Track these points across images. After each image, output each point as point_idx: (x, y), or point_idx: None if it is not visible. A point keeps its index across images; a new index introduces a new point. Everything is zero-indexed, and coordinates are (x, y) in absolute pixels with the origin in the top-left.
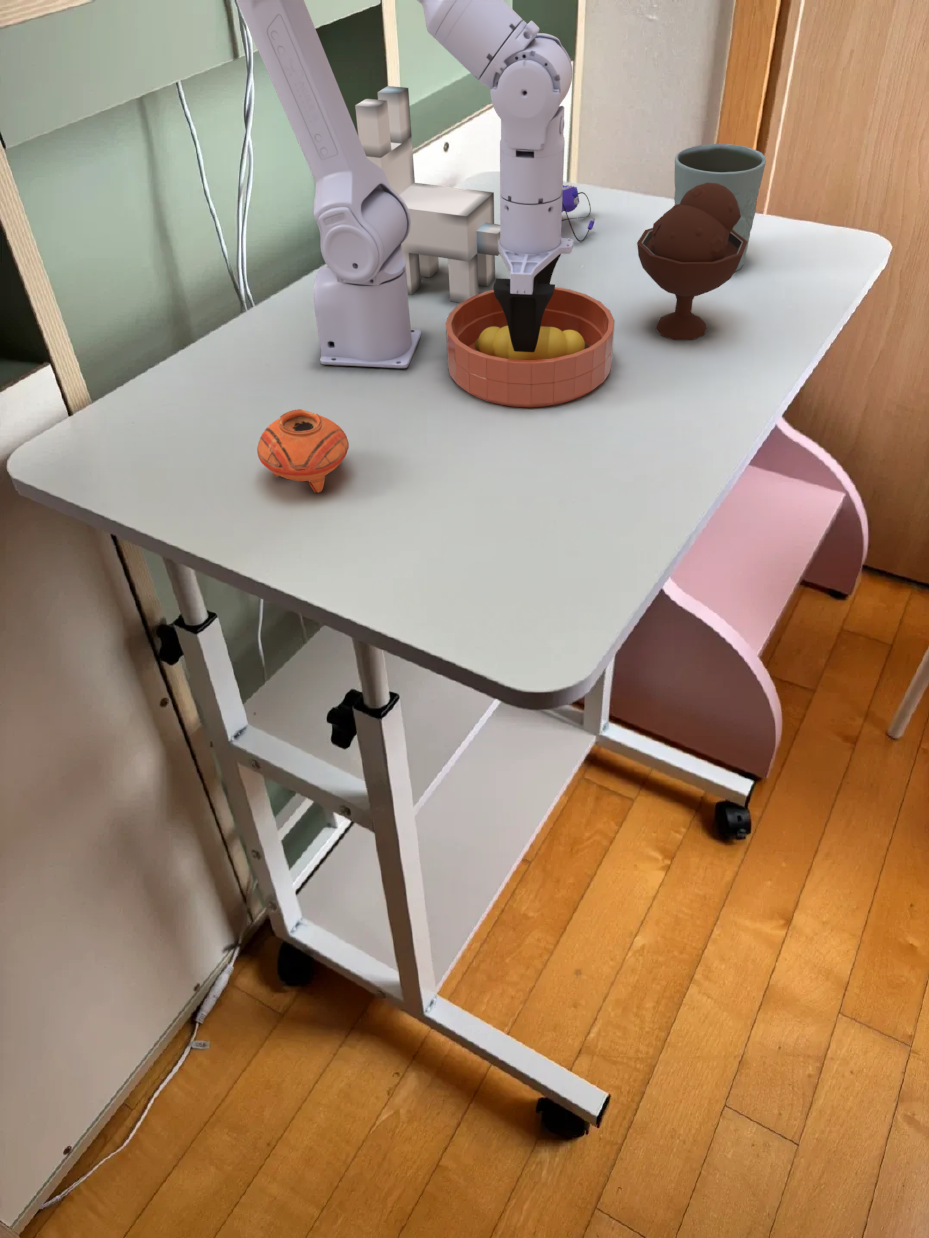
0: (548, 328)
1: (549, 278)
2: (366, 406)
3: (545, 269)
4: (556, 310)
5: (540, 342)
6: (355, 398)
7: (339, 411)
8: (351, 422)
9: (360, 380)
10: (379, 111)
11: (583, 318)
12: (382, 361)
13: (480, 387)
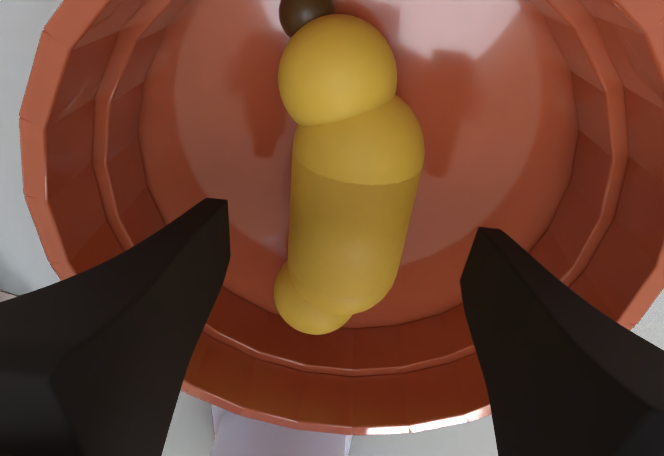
0: (353, 190)
1: (163, 279)
2: (483, 428)
3: (145, 330)
4: (98, 129)
5: (405, 202)
6: (452, 439)
7: (490, 452)
8: None
9: (391, 436)
10: None
11: (138, 19)
12: None
13: None
